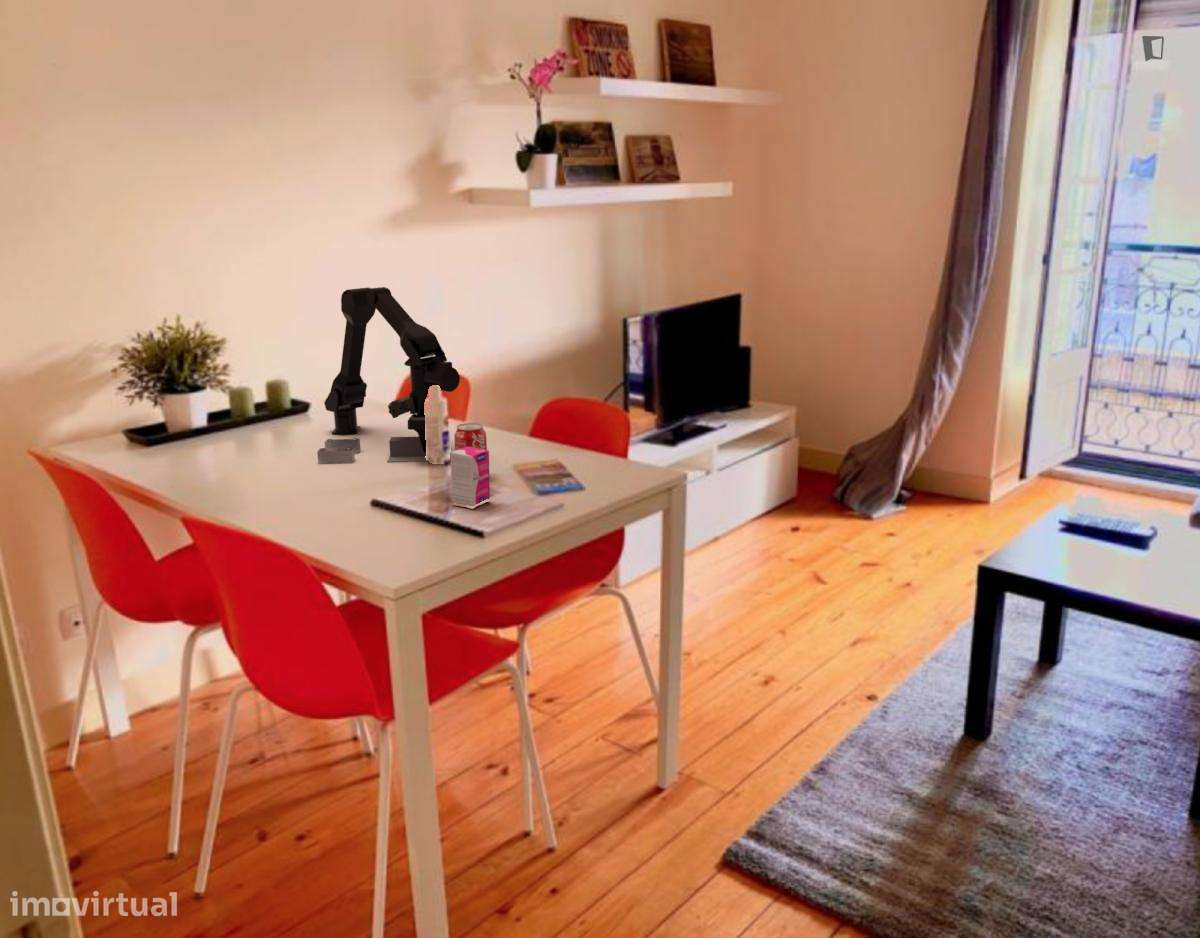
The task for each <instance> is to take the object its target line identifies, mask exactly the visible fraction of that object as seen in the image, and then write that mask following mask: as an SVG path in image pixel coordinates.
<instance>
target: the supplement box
mask: <svg viewBox="0 0 1200 938" xmlns="http://www.w3.org/2000/svg"><path fill="white" fill-rule="evenodd" d="M450 476H451V477H450V478H451V480H450V482H451V484H450V485H451V503H452V502H453V503H457V504H463V505H469V506H474V505H476V504H478V503H480V502H482V501H484V500H486V499H489V498H490V499H491V496H490V495H491V493H490V492H491V491H490V489H491V487H490V485H491V484H490V451H489V449H487V450H484V449H479V448H474V447H469V446H467V447H465V448H462V449H459V450H456V451H455V450H453V451H451V452H450Z"/></svg>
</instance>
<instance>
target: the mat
mask: <svg viewBox="0 0 1200 938" xmlns="http://www.w3.org/2000/svg"><path fill="white" fill-rule="evenodd" d="M408 462H409V463H412V462H413V463H414V462H416V463H417V462H419V463H421V462H427V461H426V458H425V456H415V457H390V455H389V457H388V459H387V460H386V463H408Z"/></svg>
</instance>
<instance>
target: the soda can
mask: <svg viewBox="0 0 1200 938" xmlns="http://www.w3.org/2000/svg"><path fill="white" fill-rule="evenodd" d="M483 427H484V425H483V424H482V423H479V422H466V423H465V422H464V423H461V424H460V423H459V424H458V425H457V426H456V430H455V432H454V451H456V450H459V449H462V448H465V447H467V446H469V447H474V448H479V449H484V450H488V445H487V432H486V431H485V429H484V428H483Z"/></svg>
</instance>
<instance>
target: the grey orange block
mask: <svg viewBox="0 0 1200 938" xmlns="http://www.w3.org/2000/svg"><path fill="white" fill-rule="evenodd" d="M388 443H389V456H390V457H415V456H426V452H424V451H423V447H422V444H421V441H420V438H419V436H391V437H390V439H389V441H388Z"/></svg>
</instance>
